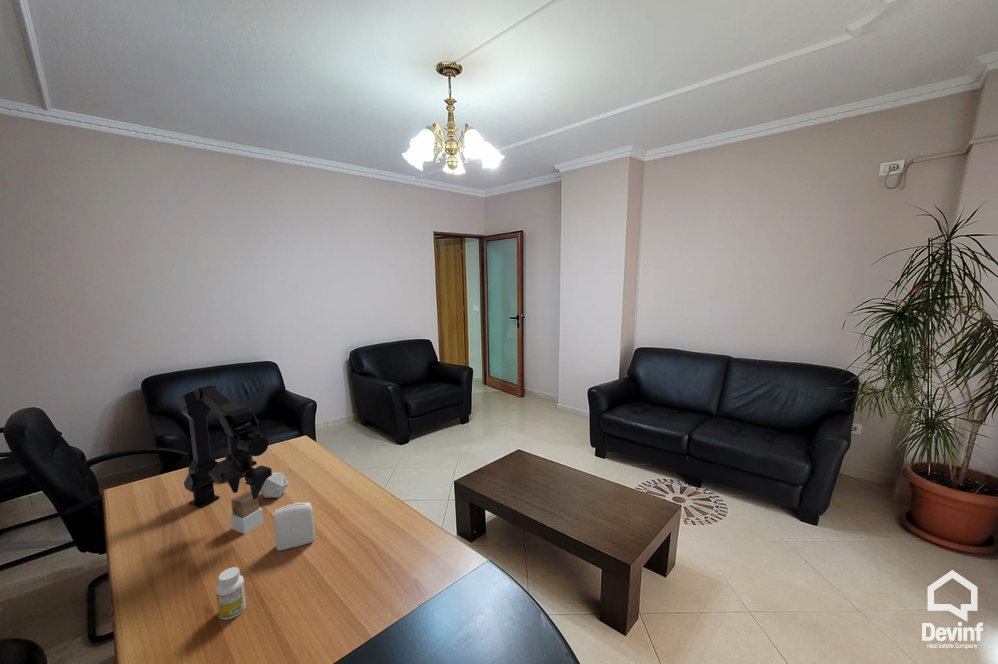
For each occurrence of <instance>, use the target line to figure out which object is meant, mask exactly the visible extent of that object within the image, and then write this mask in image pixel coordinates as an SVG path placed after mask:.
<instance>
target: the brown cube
mask: <svg viewBox="0 0 998 664" xmlns="http://www.w3.org/2000/svg"><path fill="white" fill-rule="evenodd" d="M259 507H260V504H259V497H258V498H256V499H255V500H254V499H253V497H252V493H251V491H249V490H247V491H243V492H242V493H241V494H239V495H238V494H237V496H235V497H233V498H231V509H232V513H233V514H234V515H236V516H239V517H242V518H245V517H246V516H248V515H250V514H251V513H253V512H255V511H257V510H258V509H259Z"/></svg>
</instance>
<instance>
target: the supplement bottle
mask: <svg viewBox="0 0 998 664" xmlns="http://www.w3.org/2000/svg"><path fill="white" fill-rule="evenodd" d="M245 587H246V585H245V579H244V577H243V575H241V572H240V568H239V567H236V566H233V567H229V568H226V569H225V570H223V571H222V572H221V573H220V574H219V575H218V584H217V586H216V587H215V593H216V594H215V595H216V597H215V598H216V604H217V612H218V617H219V619H220V620H230V619H234V618H236V617H237V616H239V615H241V614H242V613H243V612H244V610H245V609H246V607H247V594H246V588H245Z"/></svg>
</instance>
